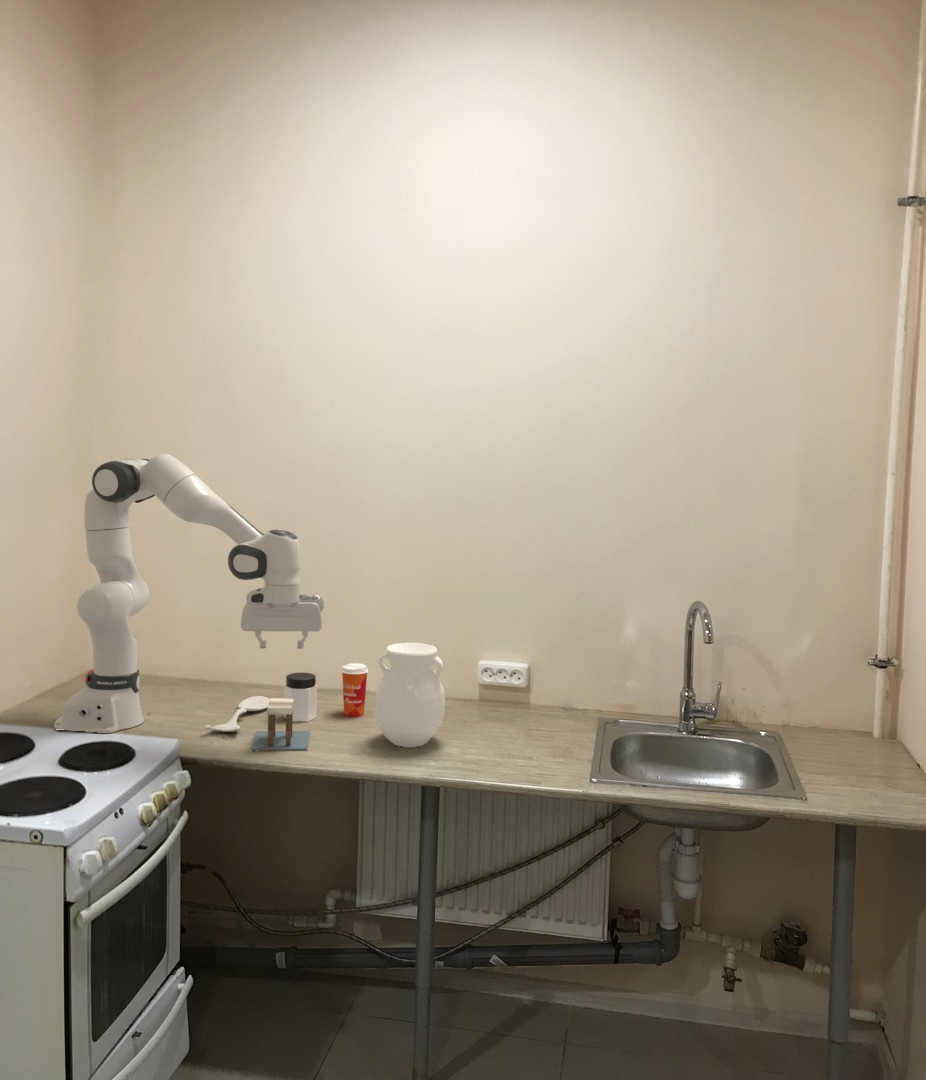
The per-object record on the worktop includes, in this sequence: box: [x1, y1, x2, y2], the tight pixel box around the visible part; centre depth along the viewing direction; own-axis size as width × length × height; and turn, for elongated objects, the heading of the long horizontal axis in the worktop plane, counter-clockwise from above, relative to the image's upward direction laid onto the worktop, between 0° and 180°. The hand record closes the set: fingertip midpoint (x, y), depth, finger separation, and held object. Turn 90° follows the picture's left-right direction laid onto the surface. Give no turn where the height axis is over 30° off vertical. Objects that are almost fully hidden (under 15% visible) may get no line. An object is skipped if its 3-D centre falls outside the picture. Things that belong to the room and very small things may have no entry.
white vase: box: [373, 642, 446, 748], centre depth 240 cm, size 19×18×25 cm
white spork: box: [204, 695, 270, 733], centre depth 254 cm, size 9×32×4 cm, turn 174°
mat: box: [250, 730, 310, 752], centre depth 238 cm, size 14×14×1 cm
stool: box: [266, 697, 294, 747], centre depth 236 cm, size 9×6×10 cm, turn 7°
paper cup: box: [340, 663, 369, 718], centre depth 262 cm, size 8×8×14 cm
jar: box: [283, 672, 318, 723], centre depth 257 cm, size 9×8×12 cm
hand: (281, 648), depth 234 cm, fingers open, 8 cm apart
